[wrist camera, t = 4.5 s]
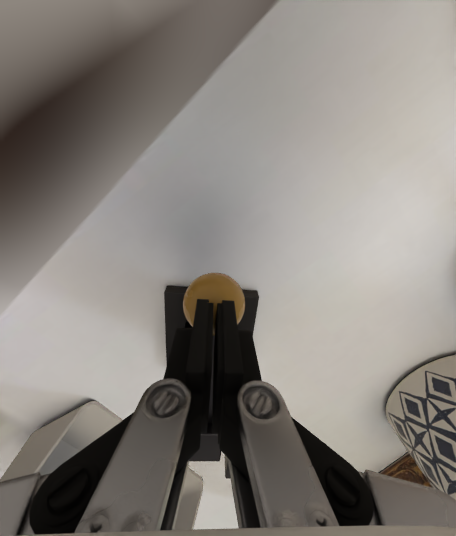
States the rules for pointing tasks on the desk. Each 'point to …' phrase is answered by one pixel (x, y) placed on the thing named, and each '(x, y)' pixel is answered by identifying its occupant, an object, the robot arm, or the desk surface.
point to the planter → (428, 420)
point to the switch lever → (216, 291)
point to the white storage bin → (77, 438)
